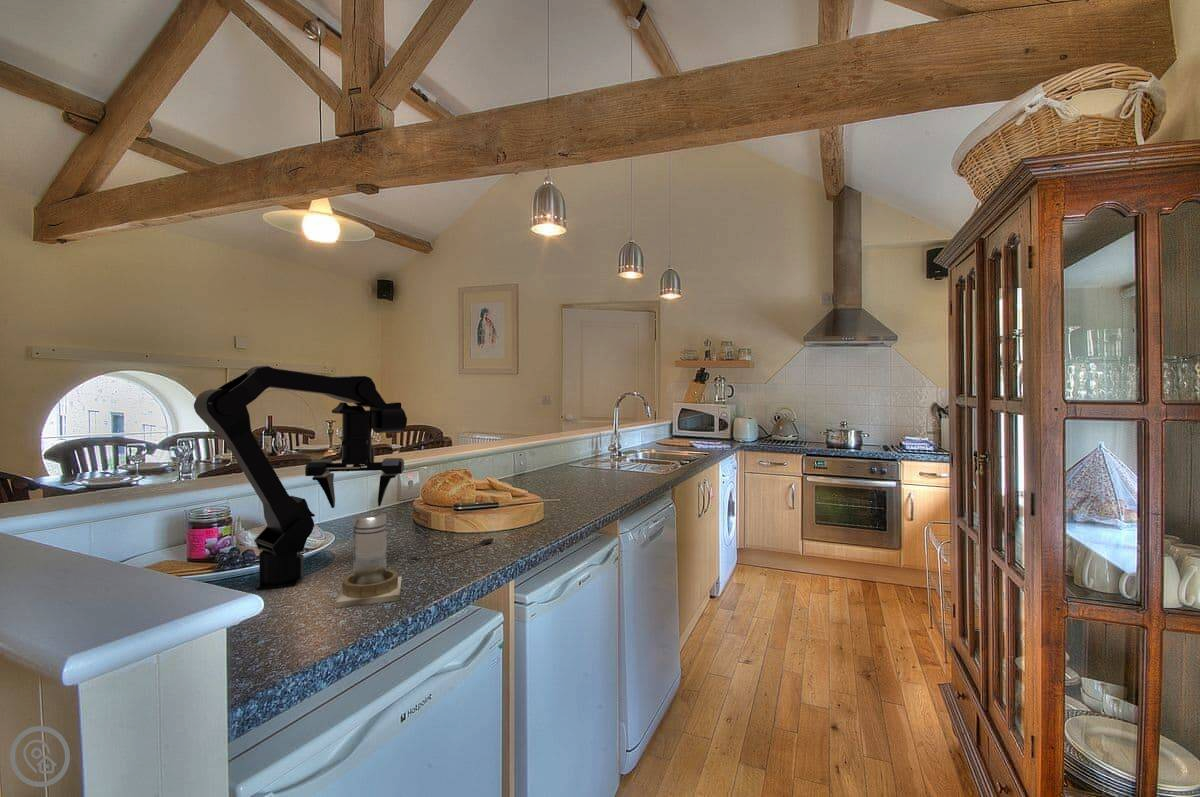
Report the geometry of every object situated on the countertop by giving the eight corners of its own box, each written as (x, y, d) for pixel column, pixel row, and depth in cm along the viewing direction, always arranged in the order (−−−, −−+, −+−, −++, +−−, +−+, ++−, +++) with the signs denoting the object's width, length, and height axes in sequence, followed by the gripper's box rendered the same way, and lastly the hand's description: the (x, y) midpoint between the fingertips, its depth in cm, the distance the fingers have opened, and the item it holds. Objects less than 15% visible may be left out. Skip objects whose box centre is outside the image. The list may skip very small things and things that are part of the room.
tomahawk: (423, 572, 110) (423, 567, 109) (408, 563, 114) (408, 558, 114) (505, 549, 125) (505, 544, 125) (489, 541, 129) (489, 537, 129)
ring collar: (335, 608, 88) (335, 590, 88) (344, 587, 98) (344, 571, 98) (399, 600, 92) (399, 583, 92) (401, 581, 101) (401, 565, 101)
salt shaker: (351, 595, 91) (351, 520, 91) (355, 584, 96) (355, 514, 96) (385, 591, 93) (385, 518, 93) (387, 581, 98) (387, 512, 98)
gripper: (406, 431, 123) (406, 497, 123) (319, 431, 118) (318, 500, 119) (401, 435, 112) (400, 508, 112) (304, 436, 107) (304, 512, 108)
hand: (356, 506), depth 113 cm, fingers open, 9 cm apart
